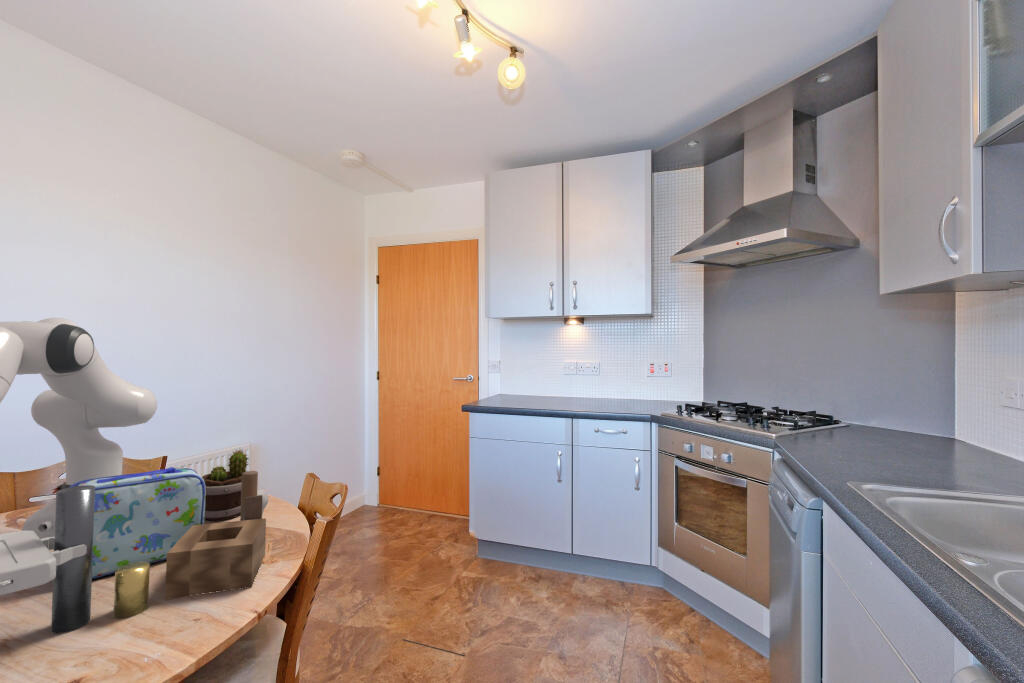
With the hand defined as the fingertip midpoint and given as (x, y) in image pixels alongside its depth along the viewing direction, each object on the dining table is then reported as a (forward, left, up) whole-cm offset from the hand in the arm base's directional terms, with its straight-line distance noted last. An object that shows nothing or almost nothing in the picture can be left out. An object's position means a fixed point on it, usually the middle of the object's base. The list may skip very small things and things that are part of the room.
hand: (81, 543), depth 81 cm
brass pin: (+7, +1, -14) cm, 16 cm away
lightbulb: (+21, +37, -14) cm, 45 cm away
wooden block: (+22, +25, -14) cm, 37 cm away
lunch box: (-1, +24, -14) cm, 28 cm away
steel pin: (-1, -1, -14) cm, 14 cm away
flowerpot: (+10, +52, -14) cm, 55 cm away
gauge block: (+19, +11, -14) cm, 26 cm away
